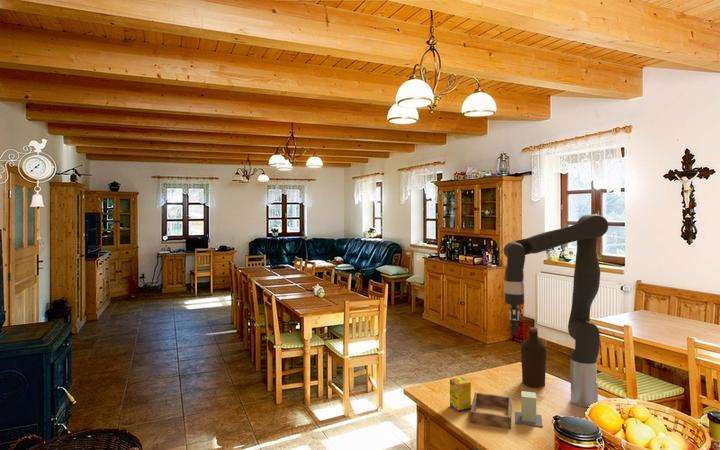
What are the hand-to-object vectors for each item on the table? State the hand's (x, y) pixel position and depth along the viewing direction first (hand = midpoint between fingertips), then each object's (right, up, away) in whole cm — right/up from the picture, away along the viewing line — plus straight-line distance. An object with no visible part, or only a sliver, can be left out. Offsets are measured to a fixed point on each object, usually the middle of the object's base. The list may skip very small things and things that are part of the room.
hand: (514, 331), depth 176 cm
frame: (-13, -29, -11) cm, 33 cm away
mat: (0, -29, -16) cm, 33 cm away
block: (0, -28, -16) cm, 32 cm away
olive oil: (+15, -28, +17) cm, 36 cm away
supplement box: (-23, -29, -5) cm, 37 cm away
